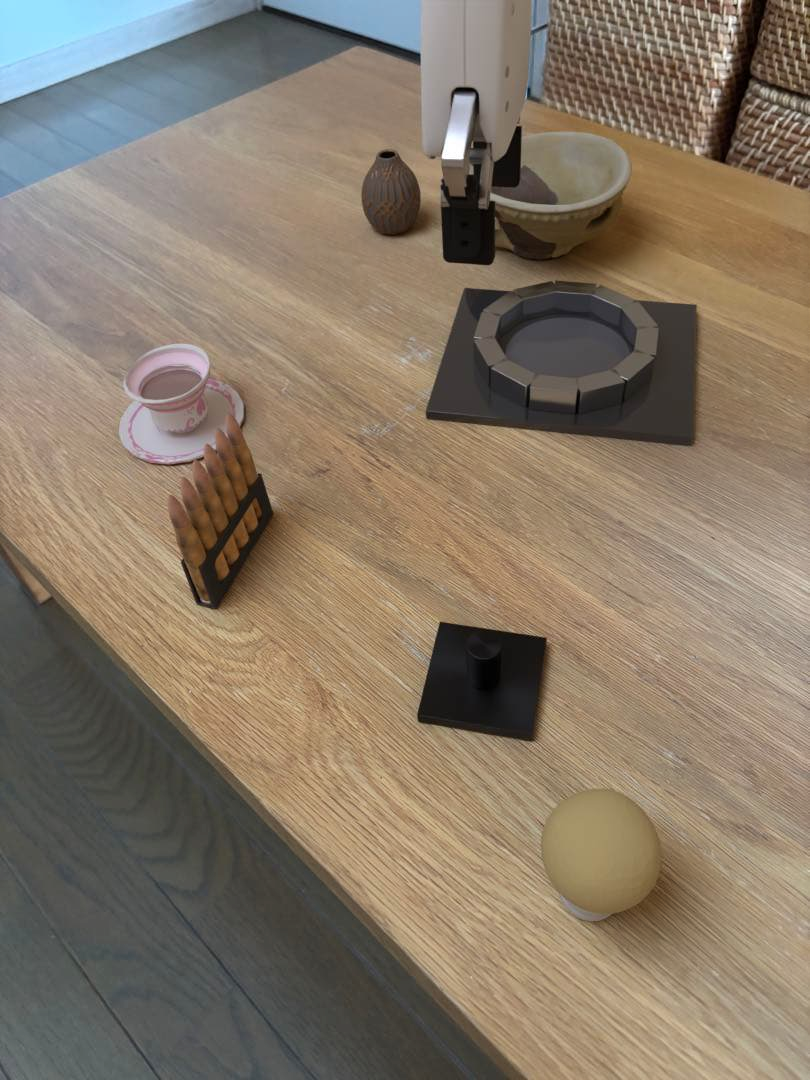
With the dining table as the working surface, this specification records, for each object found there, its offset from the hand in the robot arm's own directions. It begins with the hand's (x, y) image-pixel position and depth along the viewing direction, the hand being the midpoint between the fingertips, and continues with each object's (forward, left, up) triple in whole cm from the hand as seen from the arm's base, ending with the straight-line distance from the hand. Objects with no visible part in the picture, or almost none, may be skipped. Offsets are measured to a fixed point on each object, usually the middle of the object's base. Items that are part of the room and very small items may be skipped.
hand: (483, 221), depth 57 cm
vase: (+18, -40, -24) cm, 50 cm away
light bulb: (-12, +34, -24) cm, 43 cm away
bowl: (0, -38, -24) cm, 45 cm away
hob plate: (-5, -17, -24) cm, 30 cm away
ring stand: (-3, +20, -24) cm, 32 cm away
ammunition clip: (+19, +12, -24) cm, 33 cm away
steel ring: (-5, -17, -23) cm, 29 cm away
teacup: (+30, -3, -24) cm, 38 cm away
